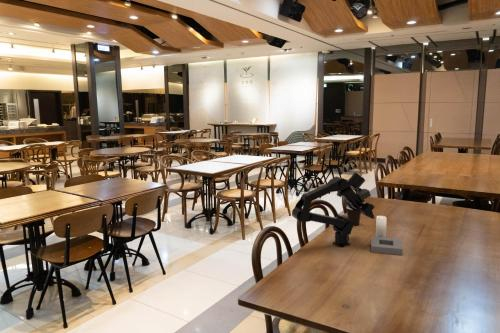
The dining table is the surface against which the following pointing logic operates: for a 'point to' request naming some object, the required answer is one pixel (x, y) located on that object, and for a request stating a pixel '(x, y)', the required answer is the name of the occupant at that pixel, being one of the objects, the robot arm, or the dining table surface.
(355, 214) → the coffee mug
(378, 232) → the peg
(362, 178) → the robot arm
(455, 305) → the dining table surface
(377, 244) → the collar block
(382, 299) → the dining table surface
